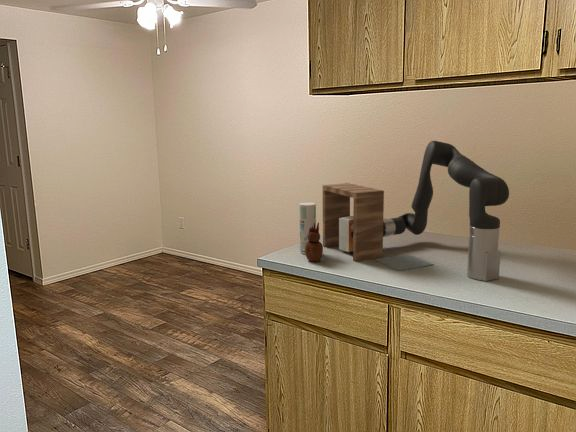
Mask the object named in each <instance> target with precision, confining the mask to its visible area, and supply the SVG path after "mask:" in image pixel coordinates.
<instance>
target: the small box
mask: <svg viewBox="0 0 576 432" xmlns="http://www.w3.org/2000/svg"><path fill="white" fill-rule="evenodd" d="M351 232H353V215H350V216H348V217H343V218H339V245H338V249H339V250H341V251H343V252H347V253H351V252H353V237H351Z"/></svg>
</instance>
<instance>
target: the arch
mask: <svg viewBox="0 0 576 432" xmlns="http://www.w3.org/2000/svg"><path fill="white" fill-rule="evenodd" d="M351 198H352V199H353V215H352V216H353V251H352V261H353V262H355V263H357V262H364V261H369V260H375V259H380V258H384V257H383V256H384V253H383V252H384V249H383V247H384V237H383V219H384V211H385V210H384V208H385V204H384V202H385V191H384V190H382V189H377V188H372V187H368V186H364V185H359V184H354V183H349V182H344V183H334V184H333V183H331V184H322V246H323V248H330V247H336V246H338V247H339V218H343V217H348V216H351Z"/></svg>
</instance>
